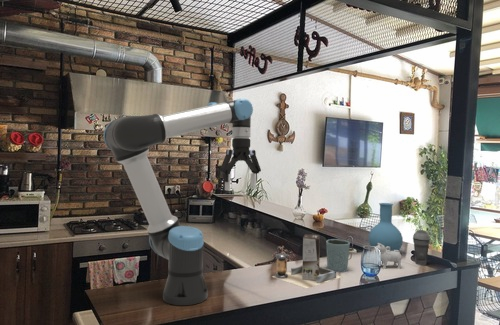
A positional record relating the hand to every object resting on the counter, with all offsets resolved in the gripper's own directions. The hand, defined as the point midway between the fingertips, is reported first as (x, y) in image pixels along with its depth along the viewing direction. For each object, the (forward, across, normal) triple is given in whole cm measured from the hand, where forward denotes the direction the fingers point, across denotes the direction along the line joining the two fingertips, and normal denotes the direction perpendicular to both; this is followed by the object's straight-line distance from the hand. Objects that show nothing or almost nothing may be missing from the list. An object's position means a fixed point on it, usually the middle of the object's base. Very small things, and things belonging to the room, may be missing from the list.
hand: (240, 189), depth 161 cm
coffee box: (+34, +17, -24) cm, 45 cm away
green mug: (+35, +37, -22) cm, 55 cm away
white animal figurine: (+35, +57, -34) cm, 75 cm away
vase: (+35, +81, -19) cm, 90 cm away
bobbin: (+34, +8, -16) cm, 38 cm away
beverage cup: (+35, +74, -41) cm, 92 cm away
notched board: (+35, +16, -23) cm, 45 cm away
